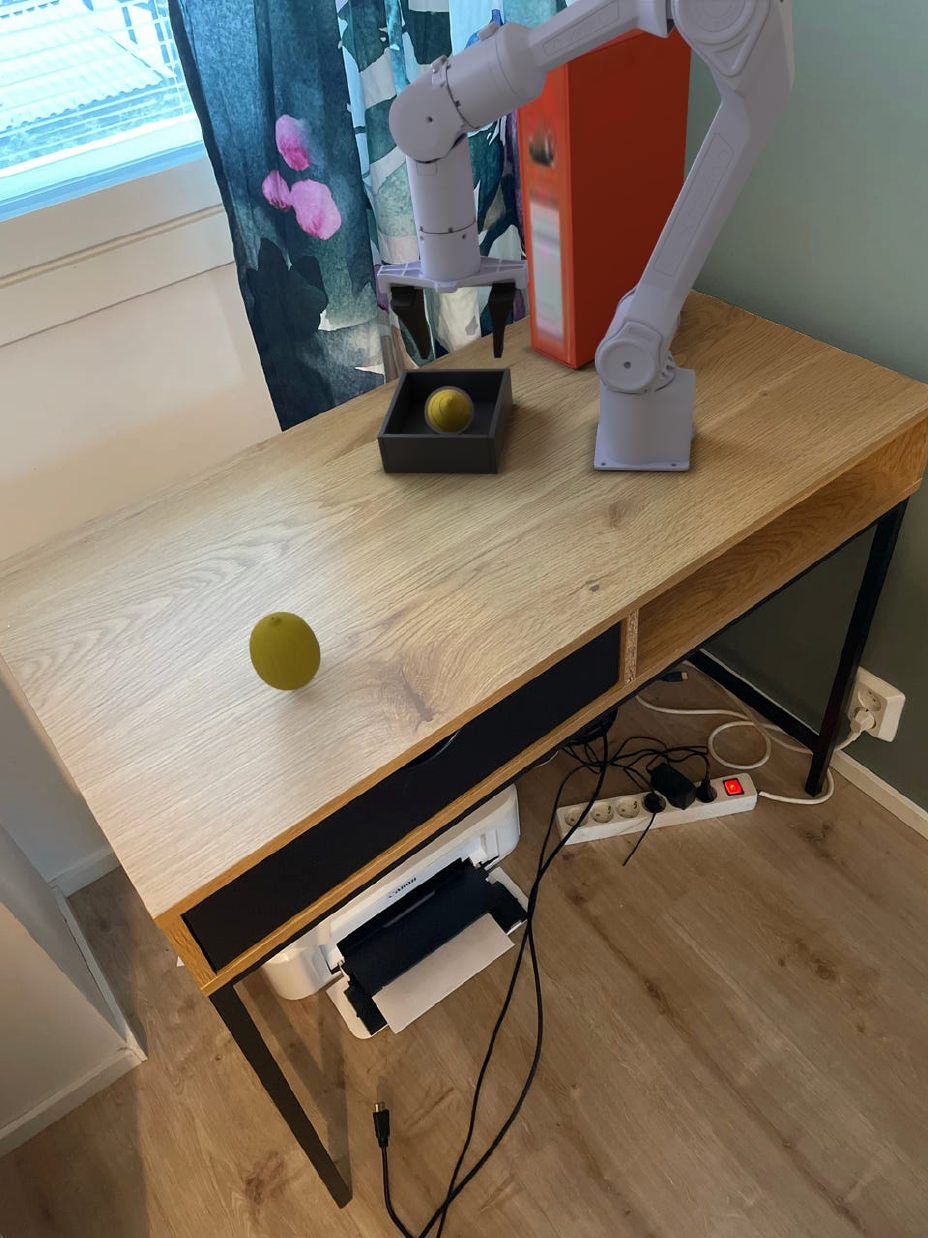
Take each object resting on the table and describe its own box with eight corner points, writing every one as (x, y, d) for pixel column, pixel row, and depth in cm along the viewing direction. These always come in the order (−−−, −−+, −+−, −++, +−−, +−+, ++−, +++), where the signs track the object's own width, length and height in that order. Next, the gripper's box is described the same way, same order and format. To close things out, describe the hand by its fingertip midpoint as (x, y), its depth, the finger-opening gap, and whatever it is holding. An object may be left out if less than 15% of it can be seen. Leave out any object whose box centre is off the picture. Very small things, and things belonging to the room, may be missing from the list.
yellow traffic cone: (481, 417, 101) (488, 398, 91) (448, 451, 101) (451, 436, 91) (447, 383, 100) (450, 360, 90) (414, 417, 100) (413, 398, 90)
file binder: (530, 348, 110) (512, 49, 87) (628, 295, 117) (635, 5, 94) (576, 370, 105) (569, 61, 83) (676, 315, 112) (695, 14, 89)
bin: (512, 403, 102) (510, 367, 99) (497, 473, 93) (493, 437, 90) (409, 403, 104) (403, 368, 101) (384, 472, 95) (376, 437, 92)
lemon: (267, 663, 78) (241, 598, 72) (330, 655, 78) (309, 589, 72) (262, 713, 74) (234, 648, 68) (328, 704, 74) (306, 639, 68)
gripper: (360, 243, 82) (386, 375, 91) (518, 236, 79) (528, 373, 89) (377, 211, 86) (400, 340, 96) (527, 203, 84) (535, 337, 93)
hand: (462, 353), depth 93 cm, fingers open, 7 cm apart
